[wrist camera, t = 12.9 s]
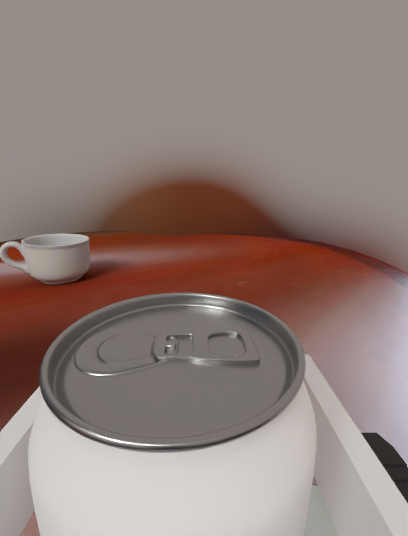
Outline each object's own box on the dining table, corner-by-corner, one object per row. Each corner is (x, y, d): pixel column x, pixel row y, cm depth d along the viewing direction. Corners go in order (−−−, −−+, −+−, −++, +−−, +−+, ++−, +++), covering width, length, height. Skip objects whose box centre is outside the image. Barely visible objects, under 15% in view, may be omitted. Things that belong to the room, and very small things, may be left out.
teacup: (95, 270, 55) (92, 232, 53) (89, 286, 45) (84, 241, 43) (20, 274, 51) (13, 234, 49) (-5, 293, 41) (-15, 244, 39)
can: (116, 527, 12) (88, 288, 9) (251, 519, 13) (271, 287, 9) (41, 872, 6) (-137, 497, 3) (312, 834, 6) (436, 467, 3)
